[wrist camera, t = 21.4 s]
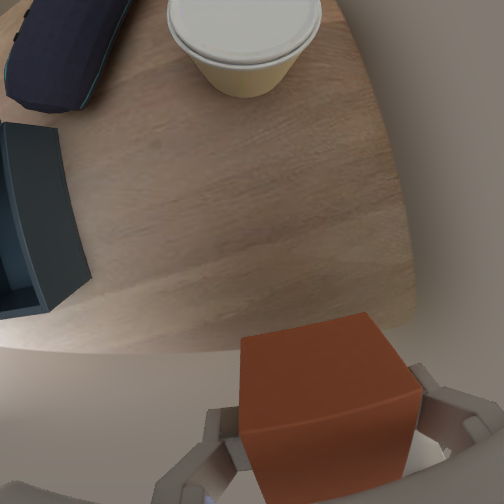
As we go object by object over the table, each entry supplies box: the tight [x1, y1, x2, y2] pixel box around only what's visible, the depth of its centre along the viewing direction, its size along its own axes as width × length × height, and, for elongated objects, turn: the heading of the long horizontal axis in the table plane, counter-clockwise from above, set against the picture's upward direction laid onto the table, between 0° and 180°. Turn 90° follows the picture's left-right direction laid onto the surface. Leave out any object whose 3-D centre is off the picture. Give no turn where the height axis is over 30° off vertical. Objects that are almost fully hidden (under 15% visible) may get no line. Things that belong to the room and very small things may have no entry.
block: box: [238, 312, 423, 504], centre depth 9 cm, size 5×5×5 cm
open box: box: [0, 122, 92, 320], centre depth 24 cm, size 17×14×9 cm
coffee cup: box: [167, 0, 322, 98], centre depth 19 cm, size 9×9×12 cm
